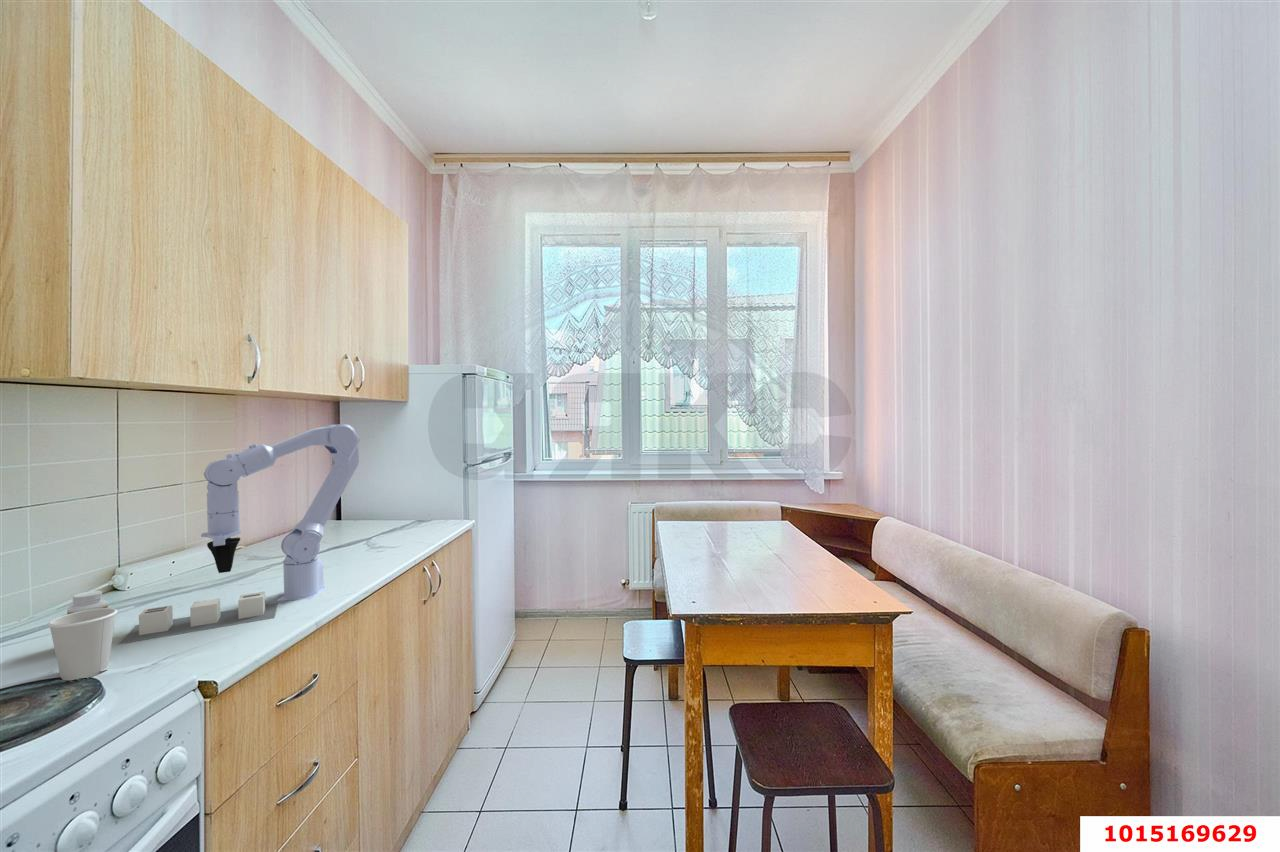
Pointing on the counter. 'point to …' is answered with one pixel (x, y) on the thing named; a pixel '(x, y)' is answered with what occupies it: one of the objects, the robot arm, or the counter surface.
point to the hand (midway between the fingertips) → (224, 571)
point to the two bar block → (155, 620)
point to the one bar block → (251, 605)
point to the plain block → (205, 612)
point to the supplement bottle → (87, 602)
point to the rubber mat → (185, 625)
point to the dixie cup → (83, 642)
